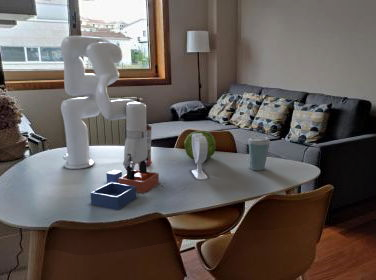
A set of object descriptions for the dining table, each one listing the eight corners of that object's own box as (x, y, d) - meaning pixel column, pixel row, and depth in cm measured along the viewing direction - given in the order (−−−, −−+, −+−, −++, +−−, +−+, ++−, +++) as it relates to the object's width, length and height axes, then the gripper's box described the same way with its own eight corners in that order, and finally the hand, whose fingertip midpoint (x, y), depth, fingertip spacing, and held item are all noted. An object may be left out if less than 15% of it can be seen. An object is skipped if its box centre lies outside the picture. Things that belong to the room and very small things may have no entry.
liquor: (144, 168, 165) (142, 109, 159) (133, 166, 169) (131, 107, 162) (155, 164, 171) (154, 107, 165) (144, 162, 175) (142, 105, 168)
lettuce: (216, 158, 194) (211, 130, 195) (220, 156, 173) (215, 126, 174) (186, 163, 191) (182, 135, 192) (187, 162, 171) (182, 131, 172)
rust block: (131, 186, 143) (131, 175, 141) (138, 182, 147) (137, 172, 146) (141, 187, 141) (140, 177, 140) (147, 184, 145) (147, 173, 144)
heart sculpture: (190, 169, 166) (190, 131, 162) (200, 168, 168) (200, 131, 164) (197, 180, 152) (197, 139, 148) (209, 179, 154) (209, 138, 149)
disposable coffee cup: (243, 169, 167) (244, 138, 164) (250, 163, 177) (252, 134, 174) (265, 173, 164) (266, 141, 160) (271, 166, 173) (273, 136, 170)
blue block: (106, 183, 147) (106, 172, 146) (113, 179, 151) (113, 169, 150) (115, 184, 145) (115, 174, 144) (122, 181, 149) (121, 171, 148)
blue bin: (91, 204, 126) (90, 192, 125) (111, 193, 136) (110, 182, 135) (117, 209, 122) (117, 197, 121) (136, 197, 133) (136, 186, 132)
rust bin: (119, 188, 141) (118, 178, 140) (135, 179, 151) (135, 169, 150) (143, 193, 137) (143, 182, 136) (158, 183, 147) (158, 173, 146)
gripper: (140, 128, 148) (141, 168, 153) (114, 137, 132) (115, 182, 137) (156, 130, 146) (156, 171, 150) (131, 140, 130) (132, 185, 134)
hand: (137, 176), depth 143 cm, fingers open, 7 cm apart
